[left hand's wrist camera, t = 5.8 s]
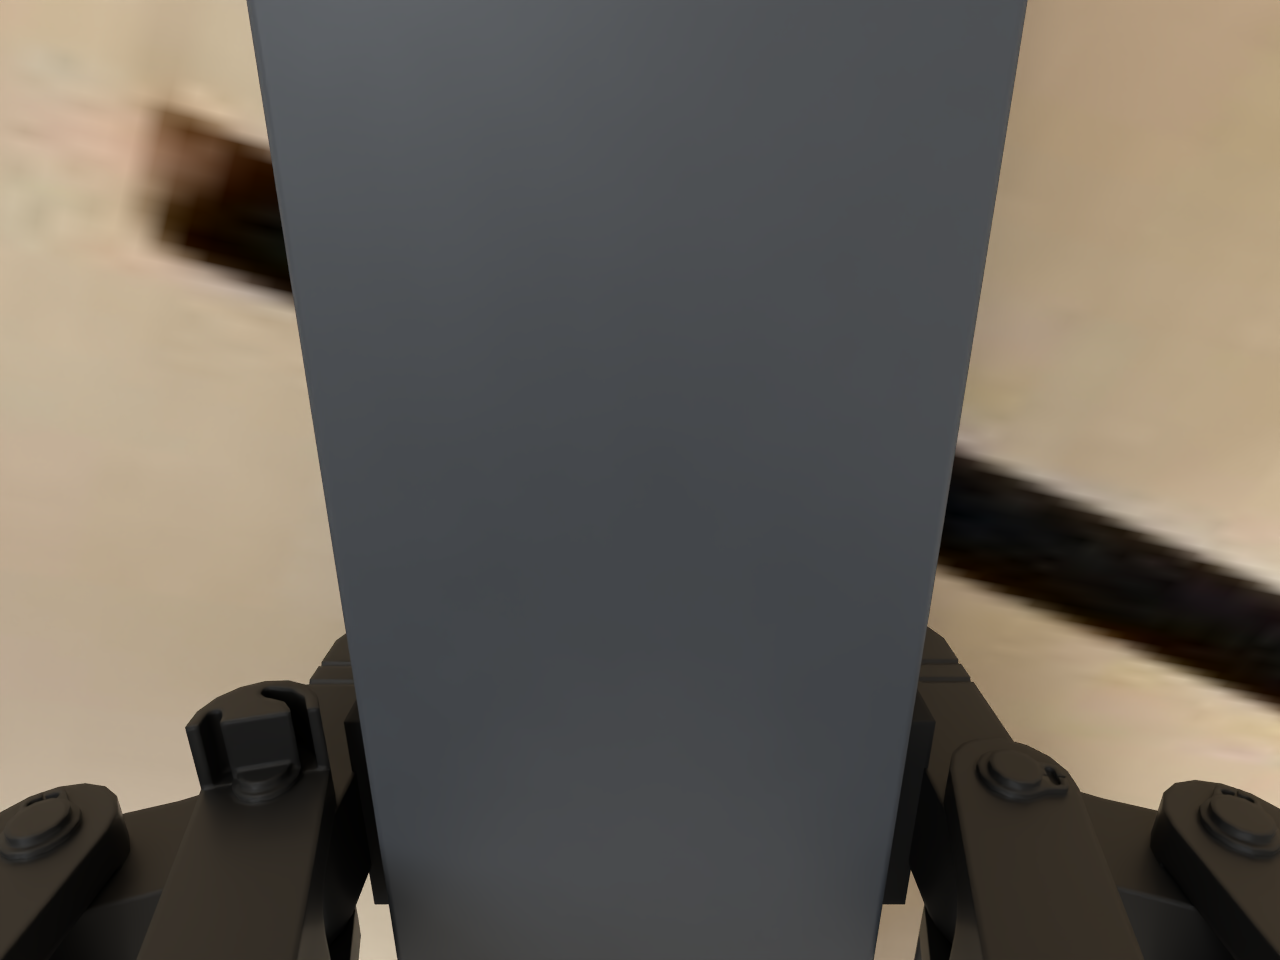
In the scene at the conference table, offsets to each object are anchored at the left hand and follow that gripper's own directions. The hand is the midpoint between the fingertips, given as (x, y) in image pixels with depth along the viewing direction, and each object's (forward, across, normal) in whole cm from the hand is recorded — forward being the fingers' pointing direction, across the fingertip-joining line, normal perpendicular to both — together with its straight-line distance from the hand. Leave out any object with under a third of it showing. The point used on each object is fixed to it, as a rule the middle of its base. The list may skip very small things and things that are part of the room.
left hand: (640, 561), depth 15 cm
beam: (+1, 0, -35) cm, 35 cm away
